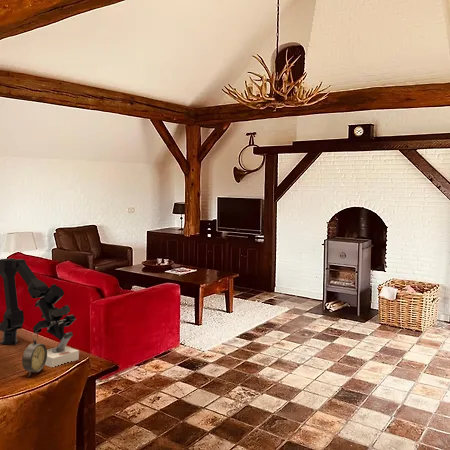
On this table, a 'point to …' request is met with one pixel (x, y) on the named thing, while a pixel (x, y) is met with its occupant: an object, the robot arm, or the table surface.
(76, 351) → the switch box
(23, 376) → the table surface
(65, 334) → the breaker lever
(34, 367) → the alarm clock
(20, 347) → the table surface
